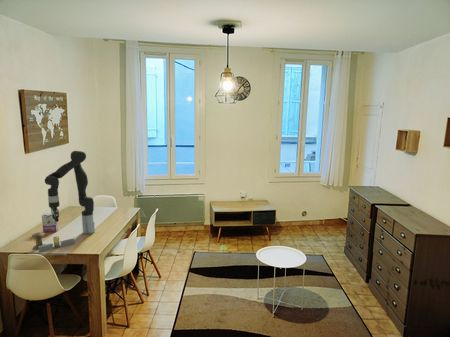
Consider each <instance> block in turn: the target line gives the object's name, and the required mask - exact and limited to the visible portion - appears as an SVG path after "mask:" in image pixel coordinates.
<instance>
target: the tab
mask: <svg viewBox="0 0 450 337" xmlns="http://www.w3.org/2000/svg"><path fill="white" fill-rule="evenodd" d="M60 245H61V243H60V237H59V236H53V247H55V248H54V249H58V248H61V247H60ZM57 247H58V248H57Z"/></svg>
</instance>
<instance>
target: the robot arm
mask: <svg viewBox="0 0 450 337" xmlns="http://www.w3.org/2000/svg"><path fill="white" fill-rule="evenodd" d="M86 158H87V154H86V152H84V151H80V150H73V151H72V152H70V161H68V162H66V163H65V164H63V165H61V166H59V167H58V168H57V170H55V171H54V172H52V173H50V174H48V175H47V176H46V177H45V179H44V183H45V184H46V185H48V186H50V187H49V188H48V189H47V195H48V196H47V201H48V208H50V214H51V213H52V214H53V215H52V217H53V219H55V221H56V222H57V223H58V222H59V218H60V212H59V210H60V209H58V207H60V198H59V186H60V180H59V179H62V178H63V177H64V176H65V175H67V174H68V173H69V172H70V171H71V170H73V172H74V176H75V182H76V186H77V193H78V194H77V195H78V204H79V206H81V207H84V210H82V211H81V222H82V223H81V224H82V234H84V235H89V234H94V233H95V232H96V231H95V230H96V229H95V222H94V209H95V206H94V204H95V202H94V199H93V197H90V196H87V192H86V190H87V187H88V183H89V179H88V175H87V173H86V171H85V170H84V169H83V167H82V164H81V163H83V162H84V161H86ZM56 215H57V216H56Z"/></svg>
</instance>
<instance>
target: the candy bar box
mask: <svg viewBox="0 0 450 337" xmlns="http://www.w3.org/2000/svg"><path fill="white" fill-rule="evenodd" d="M52 215H53V214H52V213H51V212H50V213H43V214H42V215H41V221H42V232H43V233H57V232H58V231H59V225H58V222H56V221H55V219H53V217H52ZM56 216H57V215H56Z"/></svg>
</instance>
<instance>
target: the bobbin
mask: <svg viewBox="0 0 450 337" xmlns="http://www.w3.org/2000/svg"><path fill="white" fill-rule="evenodd" d="M44 236H46V232H43V231H42V232H41V231H40V232H35V233H32V234H31V238H33V239H35V245H34V246H33V247H32V249H33V250H35V251H36V250H37V251H39V250H38V246H42V245H46V243H43V238H44Z"/></svg>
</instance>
